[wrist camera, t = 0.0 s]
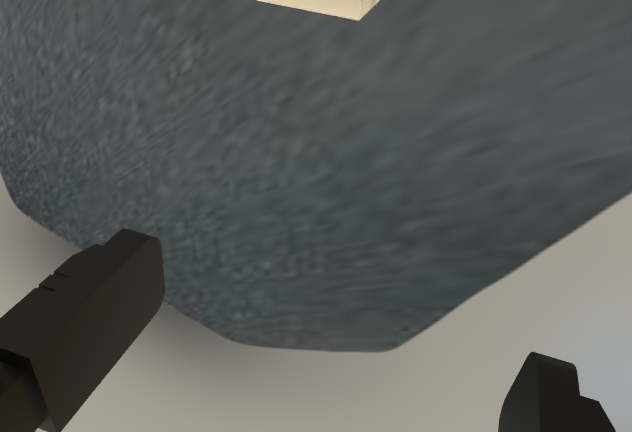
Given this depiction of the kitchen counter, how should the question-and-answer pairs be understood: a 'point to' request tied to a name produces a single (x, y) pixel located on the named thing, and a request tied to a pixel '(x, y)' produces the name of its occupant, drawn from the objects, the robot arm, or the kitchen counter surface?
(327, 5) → the plain block
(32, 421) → the robot arm
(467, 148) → the kitchen counter surface
